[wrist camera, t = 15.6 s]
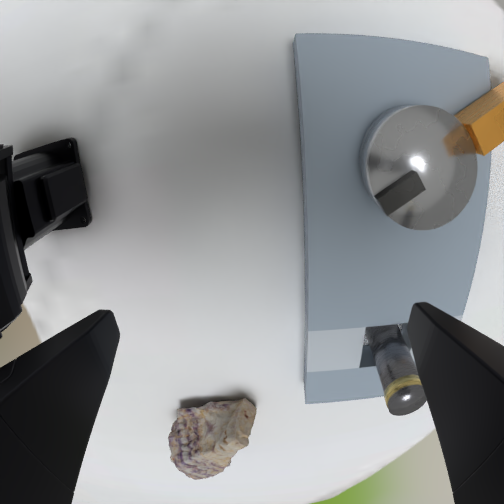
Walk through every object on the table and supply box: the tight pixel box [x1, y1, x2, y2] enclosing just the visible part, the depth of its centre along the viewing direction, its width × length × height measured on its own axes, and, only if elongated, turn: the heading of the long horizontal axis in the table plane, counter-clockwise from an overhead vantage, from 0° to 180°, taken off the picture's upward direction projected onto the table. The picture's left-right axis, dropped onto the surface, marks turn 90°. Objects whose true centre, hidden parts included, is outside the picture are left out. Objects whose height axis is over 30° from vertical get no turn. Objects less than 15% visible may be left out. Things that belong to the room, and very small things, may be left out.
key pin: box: [365, 324, 427, 416], centre depth 20 cm, size 3×3×8 cm
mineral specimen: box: [168, 398, 256, 480], centre depth 27 cm, size 13×7×6 cm, turn 160°
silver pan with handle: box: [359, 82, 504, 230], centre depth 13 cm, size 6×14×3 cm, turn 128°
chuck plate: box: [293, 33, 491, 404], centre depth 19 cm, size 12×26×2 cm, turn 5°
